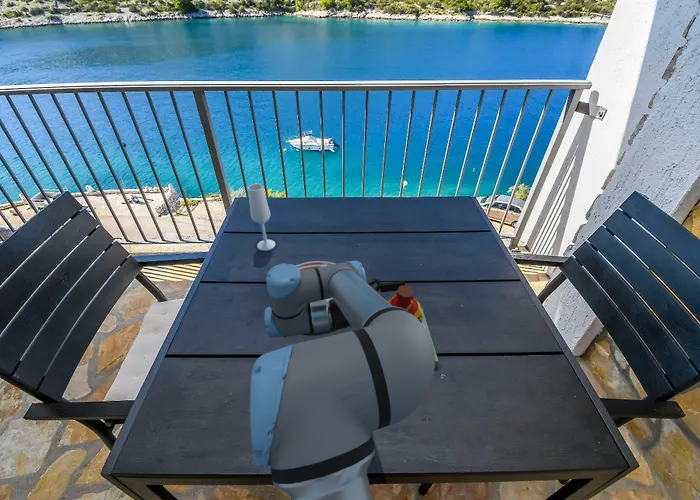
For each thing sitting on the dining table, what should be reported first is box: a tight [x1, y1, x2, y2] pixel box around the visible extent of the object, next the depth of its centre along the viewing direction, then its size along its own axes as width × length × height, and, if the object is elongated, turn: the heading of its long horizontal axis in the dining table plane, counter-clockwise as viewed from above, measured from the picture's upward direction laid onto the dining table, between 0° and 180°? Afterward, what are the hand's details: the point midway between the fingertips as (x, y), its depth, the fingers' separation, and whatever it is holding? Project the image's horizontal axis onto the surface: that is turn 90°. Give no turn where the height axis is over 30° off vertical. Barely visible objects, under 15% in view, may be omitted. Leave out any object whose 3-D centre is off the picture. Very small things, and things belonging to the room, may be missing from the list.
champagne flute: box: [247, 183, 276, 252], centre depth 121 cm, size 7×7×24 cm
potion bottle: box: [386, 284, 423, 320], centre depth 90 cm, size 10×10×15 cm
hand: (412, 303), depth 89 cm, fingers open, 13 cm apart
